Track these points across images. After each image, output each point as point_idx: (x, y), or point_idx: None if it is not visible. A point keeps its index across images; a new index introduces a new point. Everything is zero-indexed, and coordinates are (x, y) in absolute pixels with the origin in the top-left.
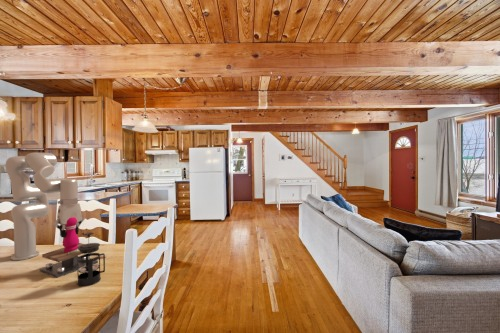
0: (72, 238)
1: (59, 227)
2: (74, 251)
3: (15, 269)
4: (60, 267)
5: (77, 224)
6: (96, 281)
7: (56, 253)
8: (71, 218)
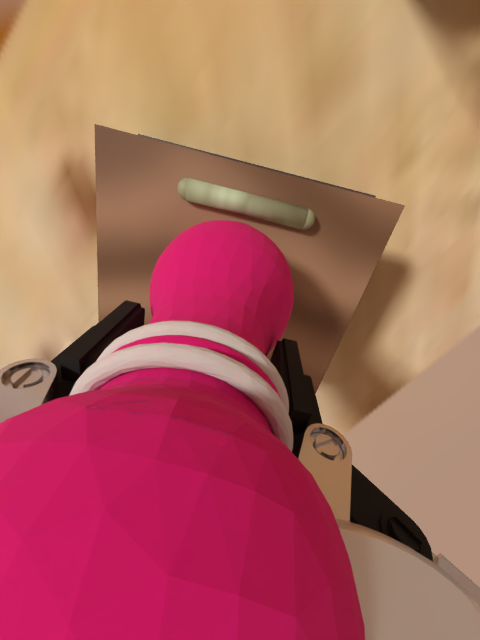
0: (247, 259)
1: (388, 515)
2: (264, 198)
3: None
4: None
5: (22, 402)
6: None
7: (294, 326)
8: None
